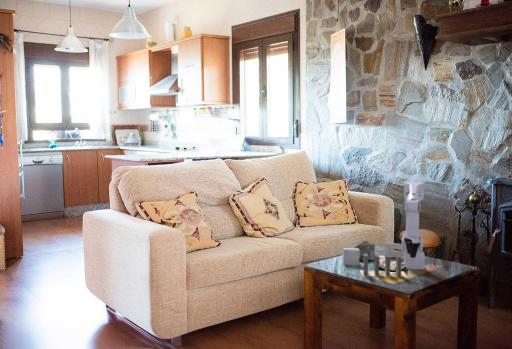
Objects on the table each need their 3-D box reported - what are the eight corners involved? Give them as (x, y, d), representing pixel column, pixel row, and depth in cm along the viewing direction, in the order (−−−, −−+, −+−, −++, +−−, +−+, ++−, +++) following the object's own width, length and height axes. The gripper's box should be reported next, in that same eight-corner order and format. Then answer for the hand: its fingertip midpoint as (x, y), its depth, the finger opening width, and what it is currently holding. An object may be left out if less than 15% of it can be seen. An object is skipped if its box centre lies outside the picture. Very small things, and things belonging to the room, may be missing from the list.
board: (403, 273, 250) (403, 271, 250) (407, 279, 241) (407, 277, 241) (359, 272, 252) (359, 270, 252) (361, 277, 243) (361, 275, 243)
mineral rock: (348, 260, 274) (348, 241, 273) (353, 255, 284) (353, 237, 283) (372, 263, 269) (373, 243, 268) (377, 258, 278) (377, 239, 277)
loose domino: (399, 273, 247) (399, 254, 246) (401, 276, 242) (401, 257, 241) (395, 273, 247) (396, 254, 246) (397, 276, 242) (397, 257, 241)
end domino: (366, 272, 248) (367, 253, 247) (367, 275, 243) (368, 256, 242) (363, 272, 248) (363, 253, 247) (364, 275, 243) (364, 256, 243)
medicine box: (358, 265, 265) (358, 248, 264) (359, 267, 261) (359, 250, 260) (342, 264, 266) (342, 247, 265) (343, 267, 262) (343, 249, 261)
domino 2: (388, 273, 247) (388, 254, 246) (389, 276, 242) (390, 256, 241) (384, 273, 247) (385, 254, 246) (386, 276, 242) (386, 256, 241)
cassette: (408, 258, 278) (408, 244, 277) (407, 259, 276) (407, 245, 275) (385, 256, 283) (385, 242, 282) (384, 257, 281) (384, 242, 281)
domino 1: (377, 272, 248) (377, 254, 247) (378, 275, 243) (379, 256, 242) (373, 272, 248) (374, 253, 247) (375, 275, 243) (375, 256, 242)
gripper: (400, 223, 249) (400, 251, 250) (405, 228, 234) (405, 259, 235) (416, 223, 248) (415, 252, 249) (422, 229, 234) (421, 259, 235)
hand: (411, 255), depth 242 cm, fingers open, 7 cm apart
